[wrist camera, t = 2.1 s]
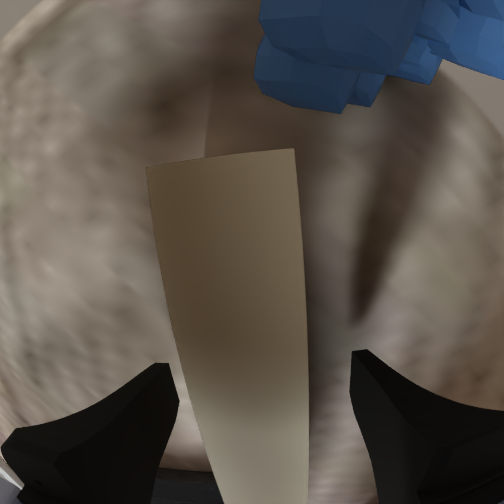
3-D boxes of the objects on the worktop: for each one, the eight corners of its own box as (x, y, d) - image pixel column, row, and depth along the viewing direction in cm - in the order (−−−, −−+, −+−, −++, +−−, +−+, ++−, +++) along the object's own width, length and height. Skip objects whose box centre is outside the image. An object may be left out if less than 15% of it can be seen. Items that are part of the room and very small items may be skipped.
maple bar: (282, 161, 12) (294, 148, 6) (299, 458, 15) (304, 542, 10) (204, 170, 12) (146, 167, 6) (248, 461, 16) (241, 544, 10)
